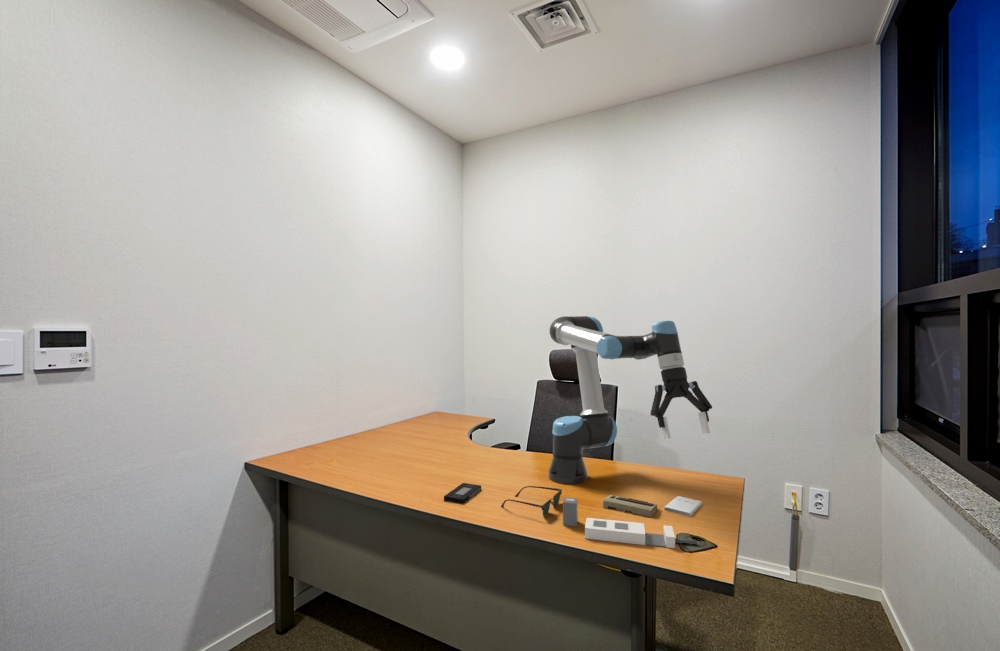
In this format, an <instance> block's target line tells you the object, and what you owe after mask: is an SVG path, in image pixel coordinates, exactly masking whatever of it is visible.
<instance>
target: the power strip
mask: <svg viewBox="0 0 1000 651" xmlns="http://www.w3.org/2000/svg"><path fill="white" fill-rule="evenodd" d="M584 525H585V526H584V539H587V540H597V541H604V542H615V543H622V544H633V545H641V546H651V547H658V548H659V547H661V548H669V549H676V544H682V543H692V544H697V545H698V540H696V539H688V538H687V539H686V538H678V537H676V536H675V533H674V528H673V526H672V525H666V524H663V534H660V533H652V532H646V531H645V523H643V522H634V521H625V520H624V521H622V520H615V519H614V520H613V519H603V518H595V517H586V519H585V524H584ZM681 542H682V543H681ZM692 544H691V545H692Z"/></svg>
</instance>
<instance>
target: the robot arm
mask: <svg viewBox="0 0 1000 651" xmlns="http://www.w3.org/2000/svg"><path fill="white" fill-rule="evenodd" d="M549 336H550V337H551V339H552V341H553V342H555V343H557V344H558V345H559V344H560V345H562V346H568V345H570V348H571V350H572V351H573V352H574V354H575V357H576V365H577V367H576V368H577V374H578V381H579V382H578V383H579V389H580V397H581V405H582V411H581V413H580V414H579V416H578V415H566V416H562V417H561V416H560V417H559V418H556V419H554V421H553V423H552V431H551V432H552V459H551V463H550V466H549V469H548V479H550V481H553V482H556V483H559V484H566V485H567V484H568V485H571V484H572V485H573V484H574V485H576V484H582V483H583V482H586V481H587V480H588V471H587V468H586V464H585V461H584V457H583V454H584V453H583V452H584V451H583V450H587V449H593V448H594V449H595V448H604V447H607V446H610V445H612V444H613V443H614V442H615V440H616V439H617V434H618V426H617V422H616V421H615V419H614V418H613V417H611V416H610V414H609V413H610V412H609V411H608V410H607V409H605V405H604V398H603V391H602V383H601V377H600V368H599V361H598V356H600V358H602V359H605V360H617V359H618V360H619V359H635V360H638V361H640V360H645V359H646V360H647V358H650V357H654V356H655V355H657V360H658V366H659V369H660V370H661V371H660V374H661V380H662V382H663V385H662V384H656V385H654V397H653V401H652V405H651V409H650V416H652V417H655V418H656V419H657V422H658V427H659V428H660V429H661V431H662V438H663V439H664V440H665V439H671V437H672V436H671V433H670V427H669V424H668V418H667V416H664V415H665V413H666V411H667V409H668V408H669V405H670V403H671V402H672V400H673V399H676V398H677V399H678V398H685V399H686V400H688V401H689V402H690V403H691V404H692V405H693V406H694V407H695V408H696V409H697V410H698V411H699V412H698V413H697V414H698V419H699V424H700V427H701V428H700V429H701V432H702V434H710V433H711V432H710V426H709V422H710V417H709V414H708V412H709V411H710V410H711V409H713V405H712V404H711V403H710V401H709V400H708V398H707V397H706V395H705V394H704V393H703V391H702V390H701V389H700V386H699V384H698V381H696V380H693V381H690V382H689V381H688V375H687V370H686V368H685V367H684V366H685V362H684V361H685V360H684V358H683V351H682V349H681V343H680V338H679V333H678V330H677V326H676V324H675V322H674V321H673V320H662V321H657V322H655V323H653V324H652V325H651V332H650V333H647V334H645V335H623V336H622V335H614V334H610V333H607V332H604V328H603V325H602V323H601V322H600V320H599V319H598V318H596V317H594V316H588V315H585V316H583V315H582V316H579V315H578V316H566V315H565V316H560V317H558V318H555V319H554V321H552V323H551V324H550V326H549ZM597 354H598V356H597ZM690 389H691V391H690ZM664 391H665V392H666V394H665V395H664V397H663V393H664ZM662 398H664V399H663V400H662ZM661 402H662V403H661Z"/></svg>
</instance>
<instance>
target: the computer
mask: <svg viewBox="0 0 1000 651" xmlns="http://www.w3.org/2000/svg"><path fill="white" fill-rule="evenodd" d="M602 508H605V509H614V510H616V511H617V512H623V513H627V514H631V515H636V516H637V515H638V516H641V517H647V518H650V519H651V518H653V517H654V515H655V514H656V512H657V511H658V504H657V503H652V502H648V501H646V500H645V501H644V500H639V499H636V498H635V499H634V498H630V497H628V498H627V497H625V496H624V497H623V496H618V495H614V494H609V495H608V496H606V497H604V498H603V502H602Z"/></svg>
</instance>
